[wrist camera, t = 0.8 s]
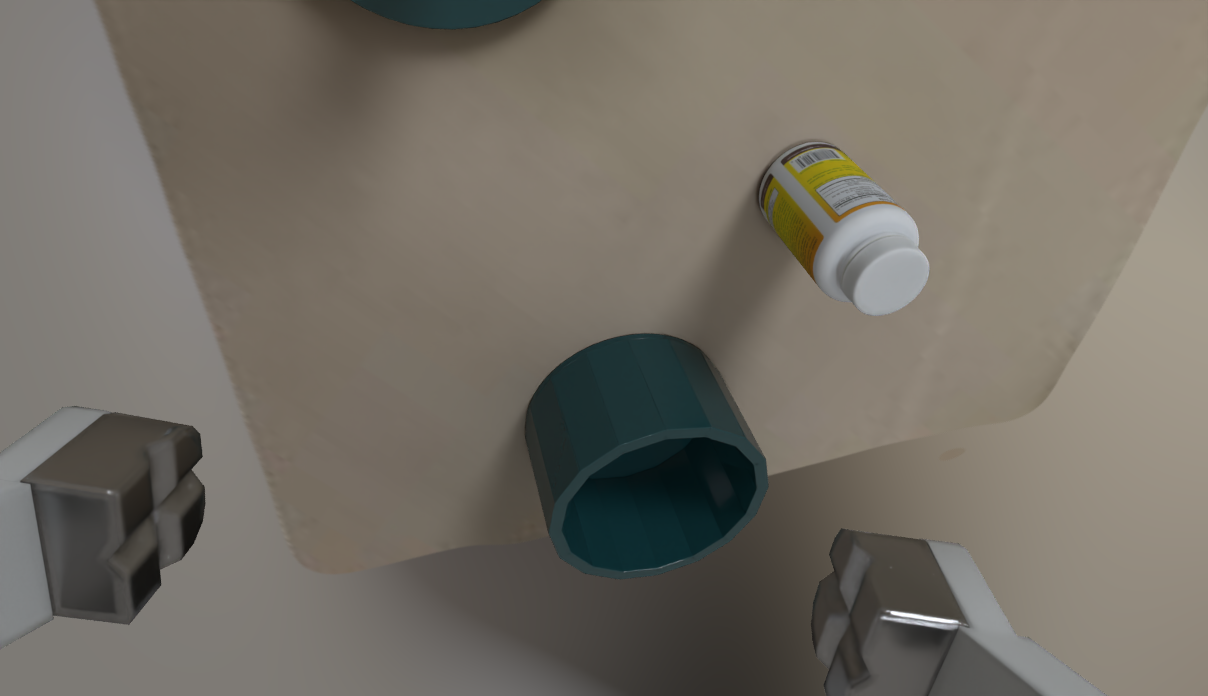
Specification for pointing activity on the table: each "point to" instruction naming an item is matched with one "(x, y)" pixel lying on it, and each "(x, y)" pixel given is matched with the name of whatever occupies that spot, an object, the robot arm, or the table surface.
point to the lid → (447, 11)
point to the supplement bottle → (844, 229)
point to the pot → (641, 457)
